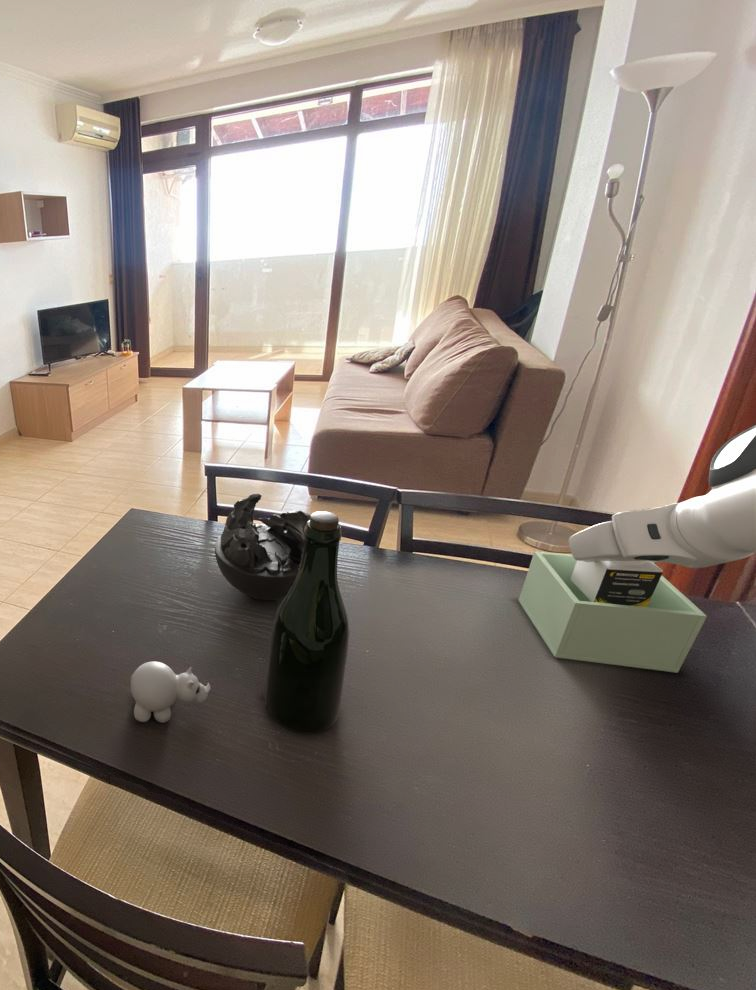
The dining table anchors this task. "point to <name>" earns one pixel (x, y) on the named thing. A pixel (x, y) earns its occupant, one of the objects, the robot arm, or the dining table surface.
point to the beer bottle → (310, 636)
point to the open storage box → (607, 620)
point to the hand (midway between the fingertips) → (617, 557)
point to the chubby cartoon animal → (163, 690)
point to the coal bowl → (261, 550)
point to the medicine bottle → (617, 581)
